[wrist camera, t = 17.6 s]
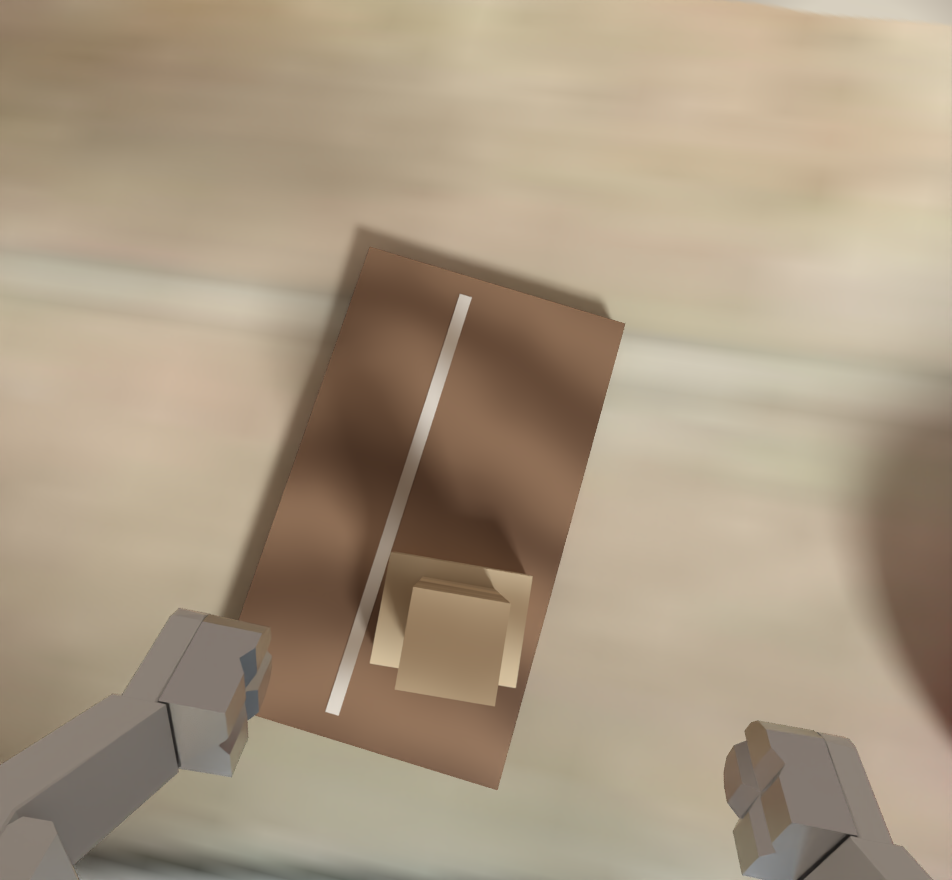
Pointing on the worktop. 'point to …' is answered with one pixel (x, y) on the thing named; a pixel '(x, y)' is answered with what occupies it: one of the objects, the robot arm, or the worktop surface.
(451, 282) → the walnut board
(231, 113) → the worktop surface
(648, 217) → the worktop surface
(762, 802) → the robot arm
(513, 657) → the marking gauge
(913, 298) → the worktop surface
